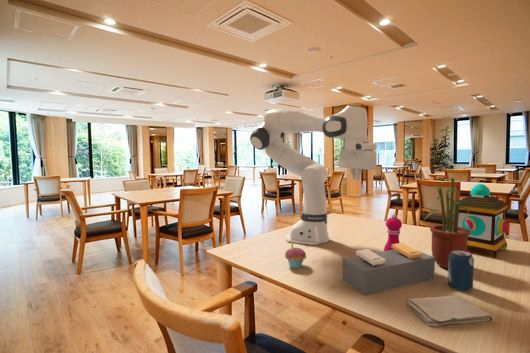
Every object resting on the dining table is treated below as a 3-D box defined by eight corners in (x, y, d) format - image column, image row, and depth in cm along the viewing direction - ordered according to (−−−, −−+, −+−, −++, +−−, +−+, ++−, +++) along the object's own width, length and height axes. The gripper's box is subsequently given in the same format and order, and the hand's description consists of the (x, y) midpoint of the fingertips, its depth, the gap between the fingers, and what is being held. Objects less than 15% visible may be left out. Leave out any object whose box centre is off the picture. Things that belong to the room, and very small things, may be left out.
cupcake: (292, 271, 113) (291, 241, 112) (281, 264, 120) (280, 235, 119) (310, 267, 117) (310, 237, 116) (298, 260, 124) (297, 232, 123)
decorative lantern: (511, 249, 131) (515, 183, 128) (499, 260, 119) (502, 187, 116) (460, 239, 147) (462, 180, 144) (444, 248, 134) (446, 183, 132)
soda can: (478, 290, 95) (479, 254, 94) (461, 293, 93) (463, 257, 92) (458, 281, 101) (459, 247, 100) (442, 284, 99) (443, 250, 98)
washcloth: (404, 306, 87) (404, 296, 87) (459, 301, 89) (460, 292, 89) (431, 330, 75) (431, 319, 75) (494, 324, 77) (494, 313, 77)
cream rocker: (355, 253, 104) (355, 250, 104) (367, 252, 106) (367, 248, 105) (373, 265, 96) (373, 261, 95) (385, 263, 97) (385, 259, 97)
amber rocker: (391, 247, 109) (391, 244, 109) (401, 245, 111) (402, 242, 111) (410, 258, 101) (410, 255, 101) (421, 256, 103) (421, 253, 102)
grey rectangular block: (342, 279, 105) (342, 256, 104) (407, 266, 115) (407, 245, 114) (364, 295, 93) (364, 269, 93) (434, 279, 104) (435, 255, 103)
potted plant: (473, 275, 106) (477, 179, 103) (425, 269, 112) (427, 178, 108) (460, 258, 123) (463, 175, 119) (418, 254, 128) (420, 174, 125)
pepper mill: (401, 259, 123) (402, 212, 121) (403, 265, 116) (404, 216, 114) (383, 257, 125) (383, 211, 123) (384, 263, 118) (384, 215, 116)
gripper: (334, 146, 127) (334, 177, 128) (366, 145, 108) (365, 182, 109) (347, 146, 129) (347, 177, 131) (379, 144, 110) (379, 181, 111)
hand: (355, 179), depth 120 cm, fingers closed
